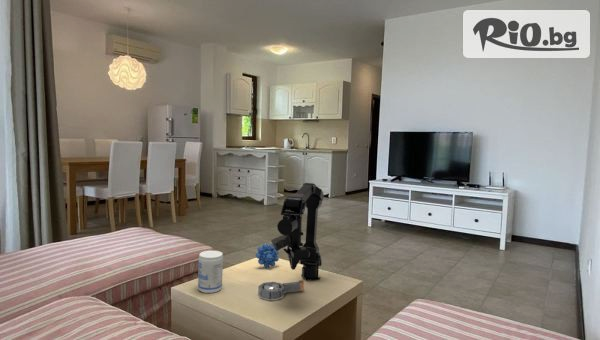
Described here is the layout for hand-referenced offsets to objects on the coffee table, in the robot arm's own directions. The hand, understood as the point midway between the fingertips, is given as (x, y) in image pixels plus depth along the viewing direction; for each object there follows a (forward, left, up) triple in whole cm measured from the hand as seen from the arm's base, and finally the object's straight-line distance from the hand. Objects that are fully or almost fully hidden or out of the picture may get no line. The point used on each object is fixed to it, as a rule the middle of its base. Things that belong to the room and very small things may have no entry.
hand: (292, 269), depth 143 cm
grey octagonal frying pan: (+2, -6, -11) cm, 13 cm away
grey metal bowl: (+7, -6, -12) cm, 15 cm away
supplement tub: (+29, -19, -12) cm, 36 cm away
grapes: (0, -36, -12) cm, 38 cm away
